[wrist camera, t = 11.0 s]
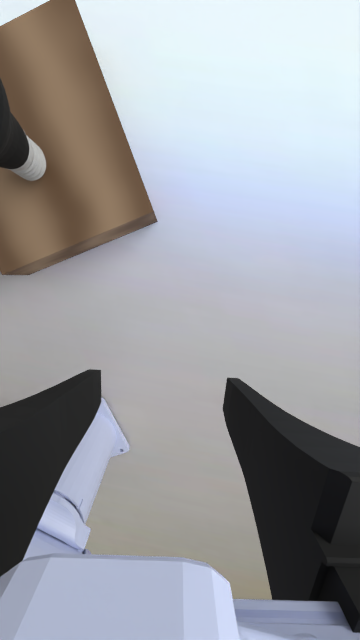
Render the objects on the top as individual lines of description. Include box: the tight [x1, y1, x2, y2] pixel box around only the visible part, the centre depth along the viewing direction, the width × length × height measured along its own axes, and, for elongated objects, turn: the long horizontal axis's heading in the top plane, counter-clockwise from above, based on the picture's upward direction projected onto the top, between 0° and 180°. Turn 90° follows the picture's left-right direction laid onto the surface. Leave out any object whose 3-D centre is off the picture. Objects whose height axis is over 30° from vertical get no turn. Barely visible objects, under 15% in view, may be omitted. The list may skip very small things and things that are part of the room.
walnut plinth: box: [0, 0, 157, 275], centre depth 16 cm, size 14×14×3 cm
